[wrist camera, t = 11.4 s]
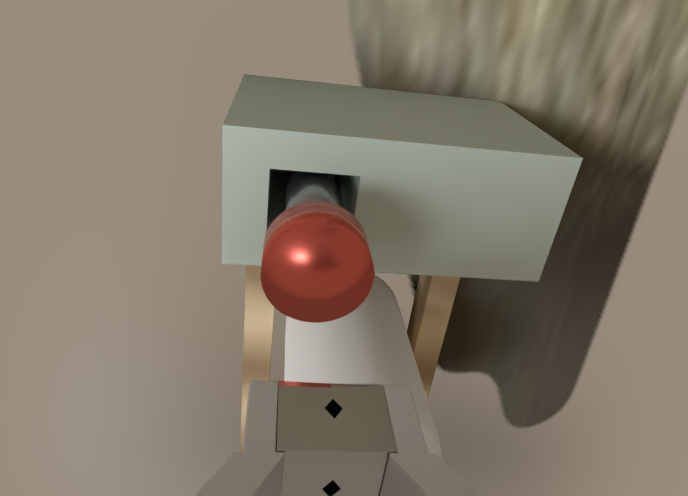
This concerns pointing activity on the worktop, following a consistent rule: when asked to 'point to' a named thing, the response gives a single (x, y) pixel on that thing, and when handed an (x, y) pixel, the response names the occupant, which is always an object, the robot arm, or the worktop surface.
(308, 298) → the plunger
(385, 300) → the can
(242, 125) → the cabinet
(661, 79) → the worktop surface
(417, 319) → the rails
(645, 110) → the worktop surface
